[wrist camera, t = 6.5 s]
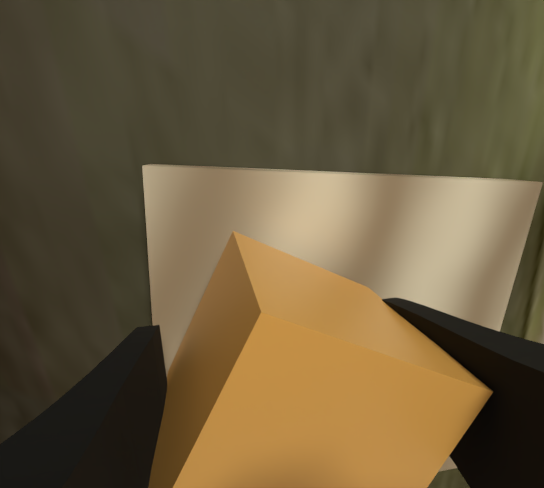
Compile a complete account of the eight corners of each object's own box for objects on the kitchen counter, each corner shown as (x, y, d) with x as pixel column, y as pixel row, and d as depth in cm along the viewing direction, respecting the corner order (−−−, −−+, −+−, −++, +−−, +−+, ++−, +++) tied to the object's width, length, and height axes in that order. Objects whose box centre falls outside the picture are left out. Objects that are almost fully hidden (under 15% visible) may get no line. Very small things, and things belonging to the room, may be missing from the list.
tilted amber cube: (368, 287, 11) (493, 391, 6) (301, 405, 12) (366, 574, 7) (232, 230, 9) (261, 312, 5) (167, 371, 10) (136, 560, 5)
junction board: (508, 179, 14) (691, 195, 9) (440, 442, 18) (536, 560, 13) (150, 164, 11) (98, 175, 5) (169, 487, 15) (150, 669, 10)
